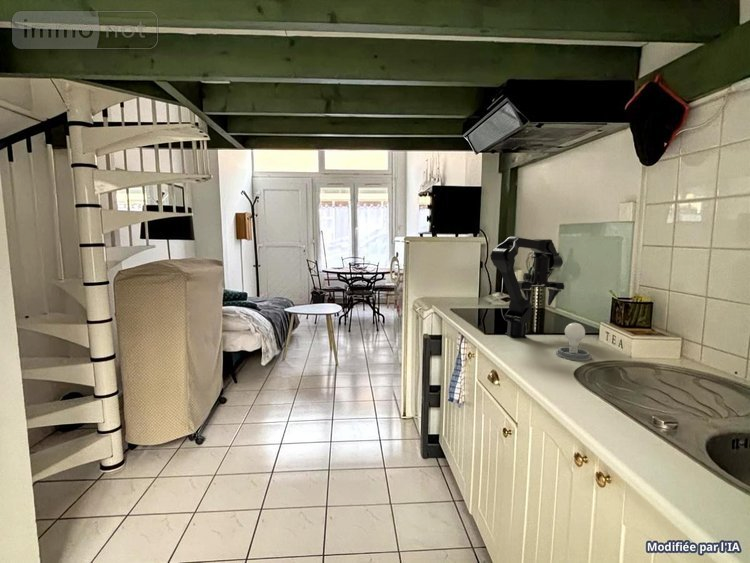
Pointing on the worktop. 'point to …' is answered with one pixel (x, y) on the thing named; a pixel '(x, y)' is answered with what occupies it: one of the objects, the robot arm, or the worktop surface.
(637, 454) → the worktop surface
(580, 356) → the bulb dish
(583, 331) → the lightbulb
